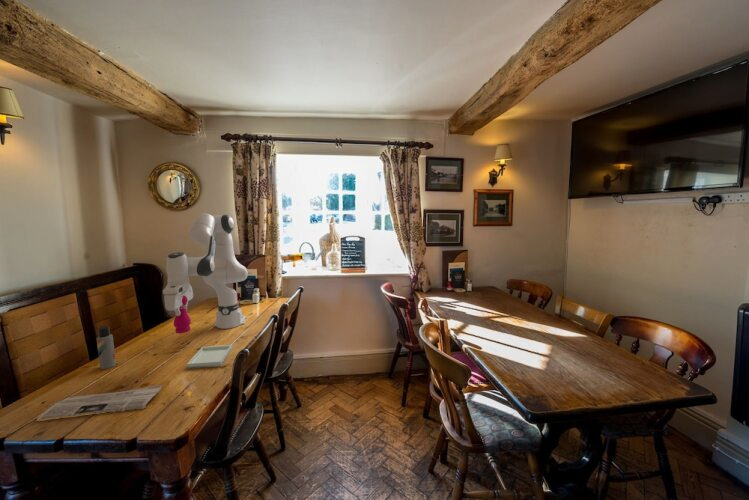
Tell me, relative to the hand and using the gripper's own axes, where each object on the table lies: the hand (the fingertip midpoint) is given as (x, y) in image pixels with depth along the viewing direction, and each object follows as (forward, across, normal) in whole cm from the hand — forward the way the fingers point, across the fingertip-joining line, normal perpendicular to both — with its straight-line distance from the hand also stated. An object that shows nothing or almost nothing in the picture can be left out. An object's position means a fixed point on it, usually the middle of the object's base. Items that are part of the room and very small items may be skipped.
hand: (181, 313), depth 145 cm
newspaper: (+25, +34, -14) cm, 44 cm away
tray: (+24, +2, +13) cm, 27 cm away
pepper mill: (+10, 0, 0) cm, 10 cm away
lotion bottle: (+24, +2, -33) cm, 41 cm away
